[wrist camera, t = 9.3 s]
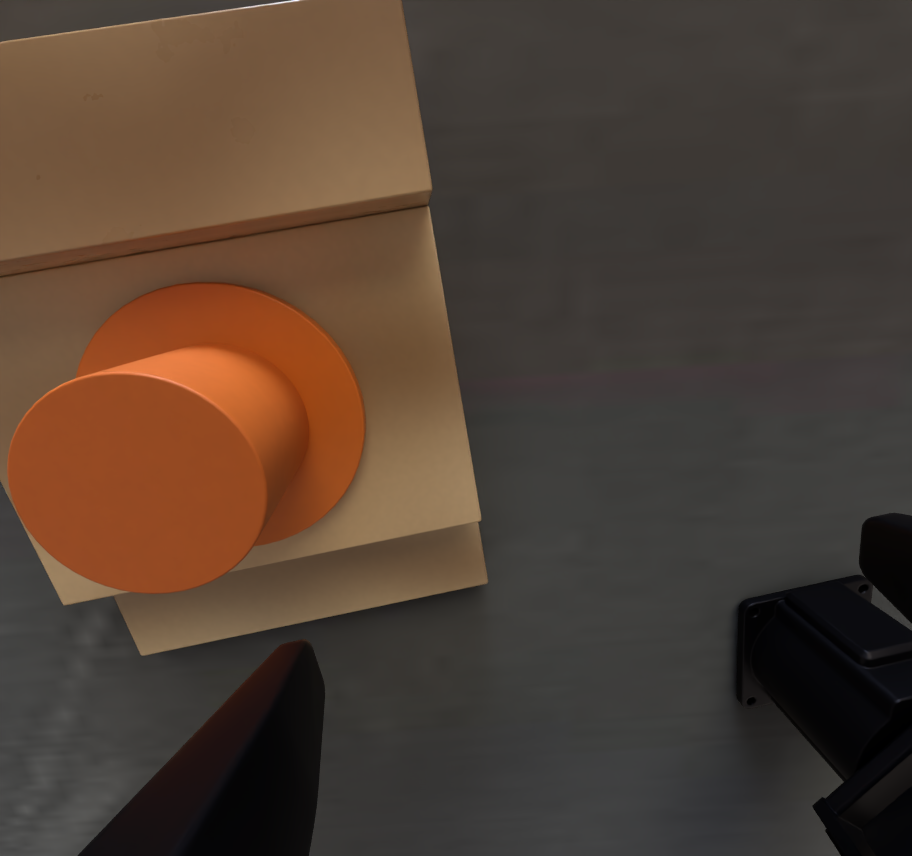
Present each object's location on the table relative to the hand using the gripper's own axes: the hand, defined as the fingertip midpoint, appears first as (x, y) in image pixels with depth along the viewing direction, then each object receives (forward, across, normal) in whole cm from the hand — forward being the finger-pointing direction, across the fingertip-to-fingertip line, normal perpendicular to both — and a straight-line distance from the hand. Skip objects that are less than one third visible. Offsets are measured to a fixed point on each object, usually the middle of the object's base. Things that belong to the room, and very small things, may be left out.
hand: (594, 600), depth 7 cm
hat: (+8, +8, -2) cm, 12 cm away
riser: (+12, +8, -2) cm, 14 cm away
